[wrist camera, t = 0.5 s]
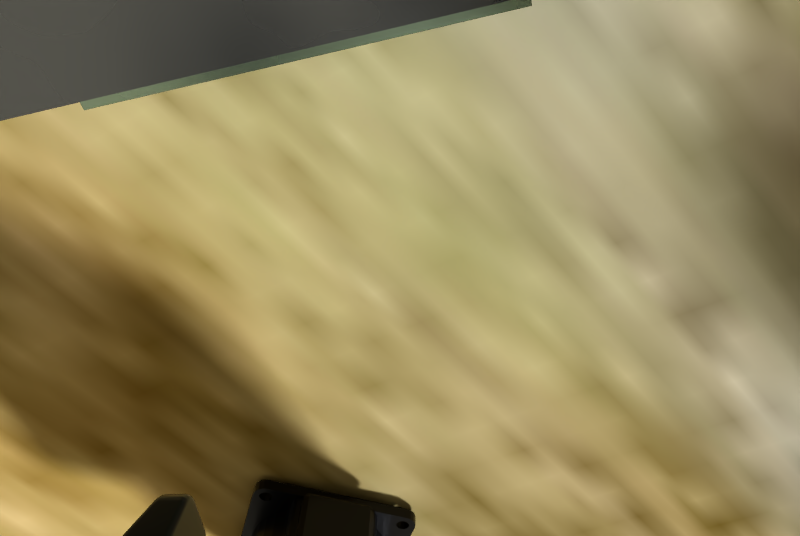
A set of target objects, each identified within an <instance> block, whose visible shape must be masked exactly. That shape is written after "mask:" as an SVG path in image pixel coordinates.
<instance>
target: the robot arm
mask: <svg viewBox="0 0 800 536" xmlns="http://www.w3.org/2000/svg"><path fill="white" fill-rule="evenodd" d="M414 528H415V514H414V513H413V512H412V511H410V510H407V509H403V508H399V507H394V506H389V505H384V504H380V503H375V502H370V501H366V500H361V499H356V498H351V497H347V496H342V495H337V494H332V493H328V492H323V491H318V490H314V489H309V488H304V487H299V486H295V485H290V484H285V483H280V482H276V481H271V480H261V481H259V482H257V483H256V485H255V488H254V491H253V495H252V499H251V502H250V506H249V509H248V513H247V517H246V520H245V524H244V528H243V531H242V535H241V536H411V534H412V532H413V530H414ZM123 536H206V534H205V530H204V527H203V524H202V521H201V518H200V515H199V512H198V510H197V507H196V504H195V501H194V499H193V497H192V496H190V495H189V494H167V495H162V496H160V497H159V498H157V499H156V500H155V501H154V502H153V503H152V504H151V505H150V506H149V507H148V508H147V510H146V511H145V512H144V513H143V514H142V515H141V516H140V517H139V518H138V519H137V520H136V522H135V523H134V524H133V525H132V526H131V527H130V528H129V529H128V530H127V531H126V532H125V534H124V535H123Z"/></svg>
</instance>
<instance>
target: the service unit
mask: <svg viewBox="0 0 800 536" xmlns="http://www.w3.org/2000/svg"><path fill="white" fill-rule="evenodd" d="M528 6H532V3H531V0H0V121H1V120H6V119H10V118H14V117H18V116H23V115H27V114H31V113H35V112H40V111H44V110H48V109H52V108H57V107H61V106H65V105H69V104H74V103H78V102H80V103H81V105H82V107H83V109H84V110H87V109H91V108H96V107H100V106H104V105H109V104H113V103H117V102H121V101H126V100H130V99H134V98H139V97H143V96H147V95H151V94H156V93H160V92H164V91H169V90H173V89H177V88H181V87H186V86H190V85H194V84H199V83H203V82H207V81H211V80H216V79H220V78H224V77H229V76H233V75H237V74H241V73H246V72H250V71H254V70H258V69H263V68H267V67H271V66H276V65H280V64H284V63H288V62H293V61H297V60H301V59H306V58H310V57H314V56H318V55H323V54H327V53H331V52H336V51H340V50H344V49H348V48H353V47H357V46H361V45H366V44H370V43H374V42H378V41H383V40H387V39H391V38H396V37H400V36H404V35H408V34H413V33H417V32H421V31H425V30H430V29H434V28H438V27H443V26H447V25H451V24H455V23H460V22H464V21H468V20H473V19H477V18H481V17H485V16H490V15H494V14H498V13H503V12H507V11H511V10H515V9H520V8H524V7H528Z"/></svg>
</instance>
